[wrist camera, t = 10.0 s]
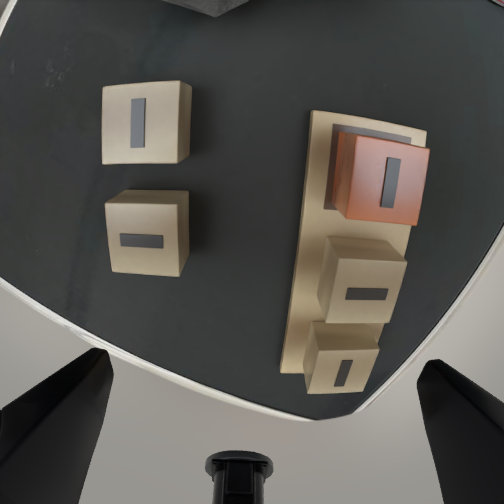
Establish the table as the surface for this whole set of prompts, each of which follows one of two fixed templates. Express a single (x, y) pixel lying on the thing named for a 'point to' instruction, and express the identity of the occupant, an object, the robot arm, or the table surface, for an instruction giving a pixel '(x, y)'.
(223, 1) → the potted plant
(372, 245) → the right tiles
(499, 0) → the pill bottle
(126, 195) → the left tiles
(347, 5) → the table surface
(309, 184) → the pattern board
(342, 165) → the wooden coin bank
